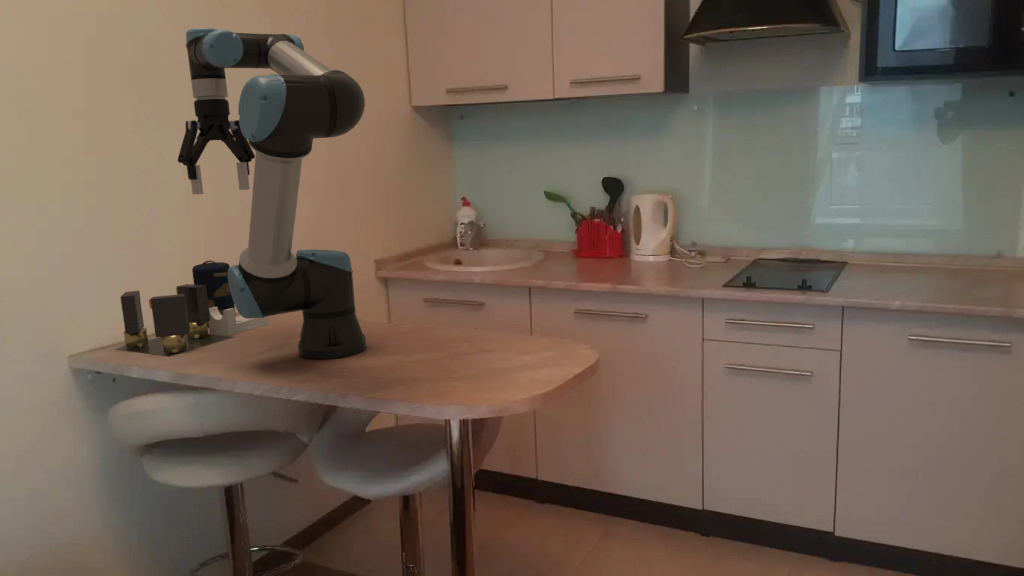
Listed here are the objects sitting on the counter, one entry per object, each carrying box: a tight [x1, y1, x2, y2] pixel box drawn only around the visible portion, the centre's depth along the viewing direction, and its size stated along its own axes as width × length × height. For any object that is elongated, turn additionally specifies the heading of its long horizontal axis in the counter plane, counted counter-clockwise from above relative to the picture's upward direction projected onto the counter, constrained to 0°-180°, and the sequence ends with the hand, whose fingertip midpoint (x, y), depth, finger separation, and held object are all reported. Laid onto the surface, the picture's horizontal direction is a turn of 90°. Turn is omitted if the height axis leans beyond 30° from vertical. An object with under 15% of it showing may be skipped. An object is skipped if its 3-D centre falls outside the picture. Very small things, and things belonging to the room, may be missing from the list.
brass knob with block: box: [119, 290, 149, 348], centre depth 191 cm, size 7×5×13 cm
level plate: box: [114, 333, 235, 358], centre depth 193 cm, size 20×19×2 cm
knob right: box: [175, 283, 210, 338], centre depth 198 cm, size 7×5×13 cm
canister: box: [191, 260, 237, 328], centre depth 212 cm, size 10×10×18 cm
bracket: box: [208, 307, 269, 336], centre depth 205 cm, size 13×7×8 cm, turn 150°
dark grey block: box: [148, 294, 190, 353], centre depth 184 cm, size 7×5×13 cm
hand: (222, 192), depth 186 cm, fingers open, 13 cm apart
